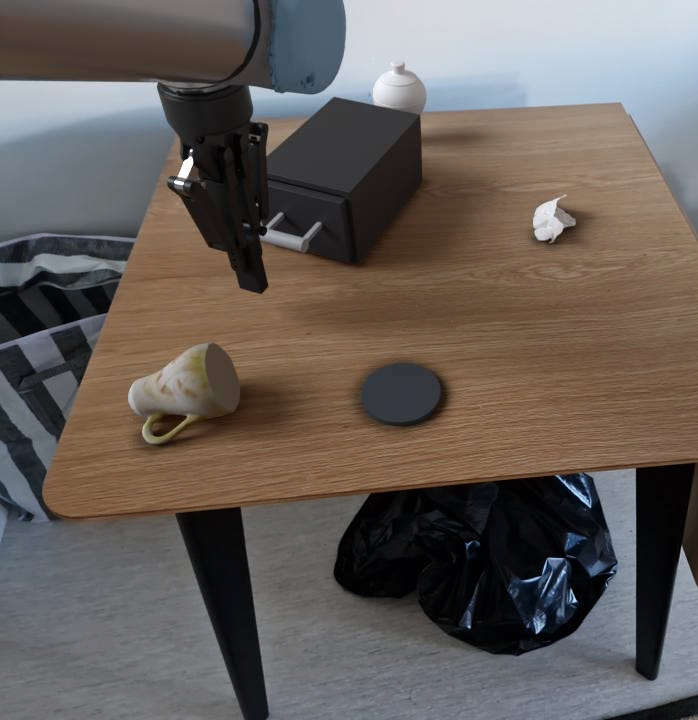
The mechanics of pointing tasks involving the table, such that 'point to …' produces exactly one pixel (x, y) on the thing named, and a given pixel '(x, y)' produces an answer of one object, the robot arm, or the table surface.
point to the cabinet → (355, 163)
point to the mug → (187, 390)
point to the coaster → (401, 394)
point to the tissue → (551, 220)
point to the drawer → (308, 221)
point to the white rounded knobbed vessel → (400, 90)
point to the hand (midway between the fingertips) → (254, 287)
